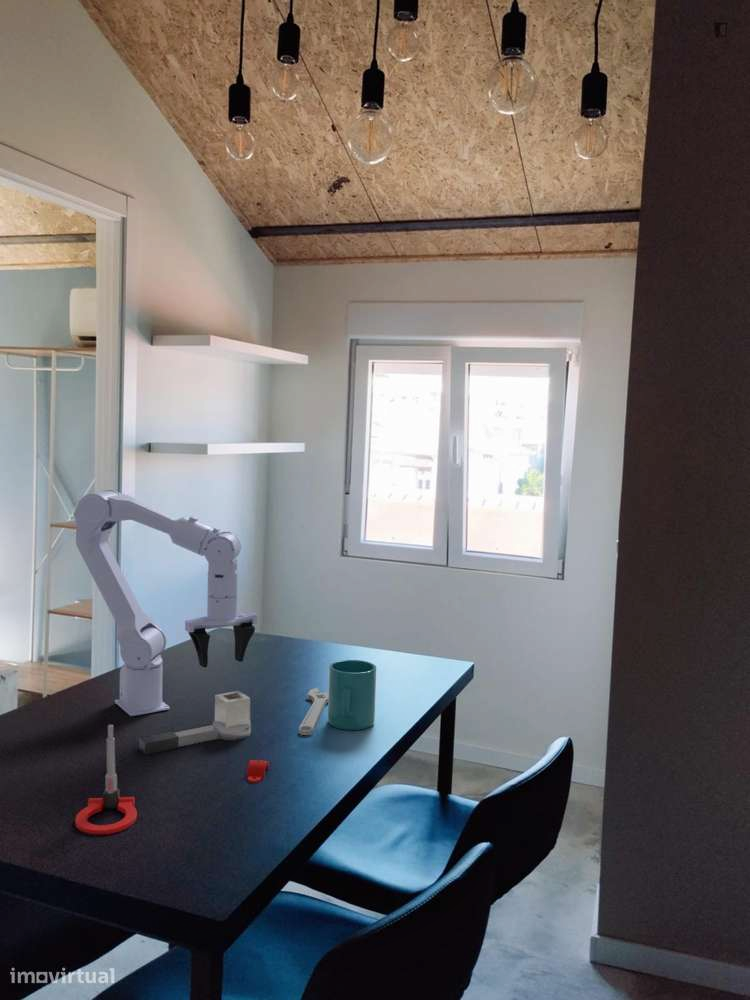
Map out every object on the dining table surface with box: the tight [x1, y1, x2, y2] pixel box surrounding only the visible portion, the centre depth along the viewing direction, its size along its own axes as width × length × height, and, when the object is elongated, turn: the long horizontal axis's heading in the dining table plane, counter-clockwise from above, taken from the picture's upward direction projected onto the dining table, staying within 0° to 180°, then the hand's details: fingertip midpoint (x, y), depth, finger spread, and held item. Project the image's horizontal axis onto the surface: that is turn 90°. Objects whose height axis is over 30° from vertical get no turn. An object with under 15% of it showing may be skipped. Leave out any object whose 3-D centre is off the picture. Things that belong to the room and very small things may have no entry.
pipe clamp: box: [246, 759, 270, 784], centre depth 140 cm, size 8×3×2 cm, turn 176°
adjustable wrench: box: [298, 687, 329, 736], centre depth 169 cm, size 25×6×2 cm, turn 169°
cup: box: [327, 659, 377, 731], centre depth 162 cm, size 9×12×11 cm
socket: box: [214, 690, 251, 729], centre depth 157 cm, size 5×5×5 cm
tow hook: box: [75, 724, 138, 835], centre depth 122 cm, size 8×13×9 cm
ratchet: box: [138, 719, 252, 755], centre depth 153 cm, size 7×20×4 cm, turn 126°
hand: (221, 663), depth 167 cm, fingers open, 7 cm apart
